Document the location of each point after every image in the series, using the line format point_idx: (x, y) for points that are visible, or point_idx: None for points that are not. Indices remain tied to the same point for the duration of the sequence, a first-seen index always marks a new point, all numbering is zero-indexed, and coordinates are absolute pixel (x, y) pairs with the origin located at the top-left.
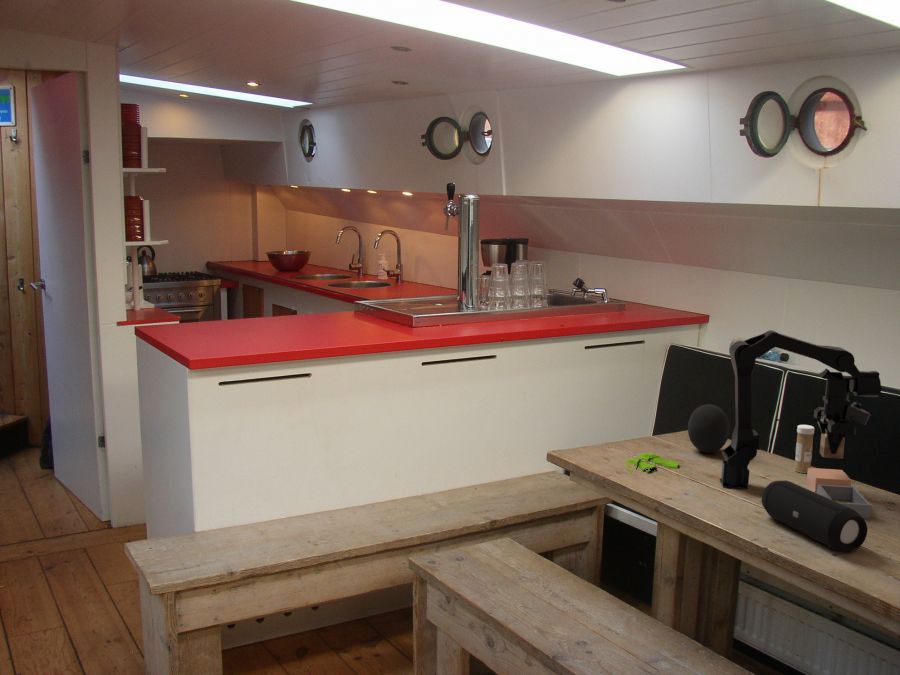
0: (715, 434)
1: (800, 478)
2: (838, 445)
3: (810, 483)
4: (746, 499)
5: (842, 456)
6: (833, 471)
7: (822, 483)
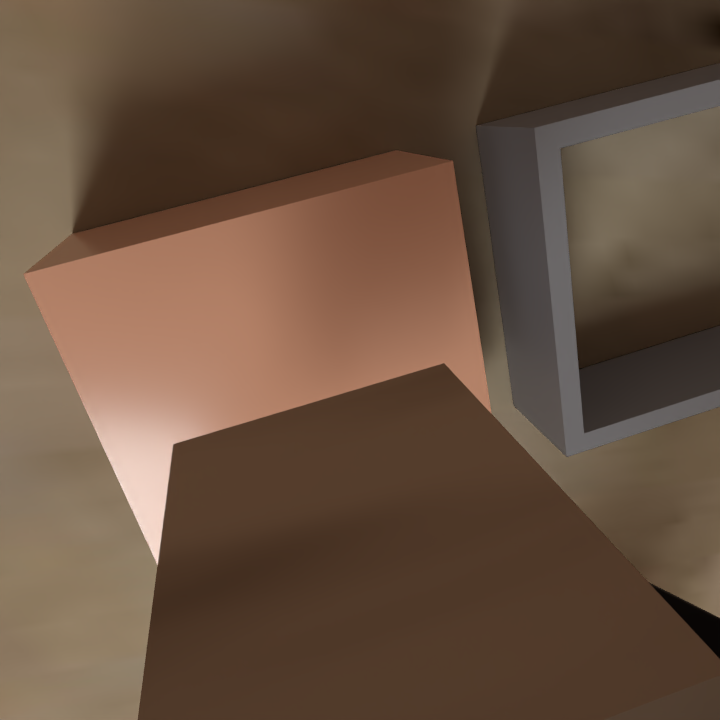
0: None
1: (55, 562)
2: (698, 621)
3: None
4: None
5: (459, 389)
6: (172, 368)
7: None
